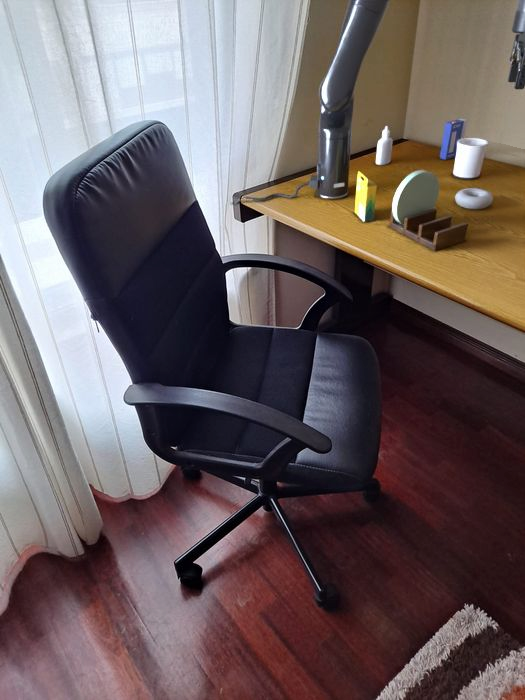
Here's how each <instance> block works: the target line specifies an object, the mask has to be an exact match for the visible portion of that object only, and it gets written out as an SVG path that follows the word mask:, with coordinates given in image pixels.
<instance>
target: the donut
mask: <svg viewBox="0 0 525 700" xmlns="http://www.w3.org/2000/svg"><path fill="white" fill-rule="evenodd" d="M454 199H455V203H456V204H457V205H458V206H460V207H462V208H465V209H469V210H482V209H486V208H488V207H490V206H491V205H492V203H493V201H494V197H493V194H492V193H491V192H490V191H488V190H487V189H483V188H477V187H468V188H463V189H460V190H459V191H457V193H456V194H455V196H454Z"/></svg>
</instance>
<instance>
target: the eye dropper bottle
mask: <svg viewBox="0 0 525 700" xmlns="http://www.w3.org/2000/svg"><path fill="white" fill-rule="evenodd" d="M381 132H382V134H381V138H380V139H379V140H378V141H377V146H376V155H375V165H378V166H385V165H388V164H389V163H391V161H392V152H393V141H394V140H393V138H392V137H390V135H391V130H390V129H389V126H388V125H386V126H385V127H384V129H383V130H382V131H381Z"/></svg>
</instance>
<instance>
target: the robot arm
mask: <svg viewBox="0 0 525 700" xmlns="http://www.w3.org/2000/svg"><path fill="white" fill-rule="evenodd" d="M390 3H391V0H349V1H348V3H347V7H346V10H345V14H344V18H343V22H342V25H341V30H340V34H339V39H338V43H337V46H336V49H335V52H334V55H333V58H332V60H331V62H330V64H329V67H328V69H327V71H326V73H325V75H324V77H323V79H322V80H321V83H320V85H319V89H318V99H319V102H320V106H319V107H320V108H319V123H318V149H317V150H318V153H317V157H318V158H317V165H316V174H311V176H310V178H309V181H305V182H303V183H301V184H300V185H298V186H297V187H296V189H295V191H294V193H293V194H291V195H290V194H289V195H288V194H285V193H282V192H276V193H271V194H269V195H267V196H265V197H252V196H242V197H243V198H246V199H253V200H252V201H255V202H261V201H267V200H270V199H271V198H274V197H283V198H286V199H293V198H295V197H296V196H297V195H298V192H299V191H300V189H302V188H303V187H305V186H308V185H309V189H312V190H316V198H322V199H326V200H339V199H340V200H341V199H343V198H346V197H347V196H349V181H350V165H351V164H350V162H351V148H352V147H351V146H352V131H353V121H354V120H353V119H354V105H355V102H354V101H355V90H356V89H355V88H356V84H357V81H358V77H359V73H360V70H361V67H362V65H363V62H364V60H365V58H366V55H367V53H368V51H369V49H370V47H371V45H372V43H373V41H374V39H375V37H376V35H377V33H378V31H379V29H380V26H381V24H382V21H383V20H384V18H385V15H386V12H387V9H388V7H389V4H390ZM512 23H513V24H512V28H511V32H512V33H514V34H515V36H514V41H513V45H512V49H511V52H510V57H509V62H510V69H509V73H508V78H507V82H508V83H514V86H513V88H514V89H515V90H524V89H525V0H518V1H517V5H516V10H515V15H514V18H513V22H512ZM242 197H240V198H241V199H243V198H242ZM240 198H238V199H236V200H235V202H234V204H235V205H238V204H239V203H240V202H241V201H243V200H240Z"/></svg>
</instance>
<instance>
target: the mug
mask: <svg viewBox="0 0 525 700" xmlns="http://www.w3.org/2000/svg"><path fill="white" fill-rule="evenodd" d="M488 144H489V141H488V140H487V139H483V138H479V137H464V138H463V139H459V140H458V142H457V152H456V157H454V165H453V170H452V175H453V177H455V178H456V179H459V180H469V181H470V180H476V179H478V178H479V177H480V174H481V171H482V166H483V163H484V159H485V156H486V155H485V154H486V151H487V148H488Z"/></svg>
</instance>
